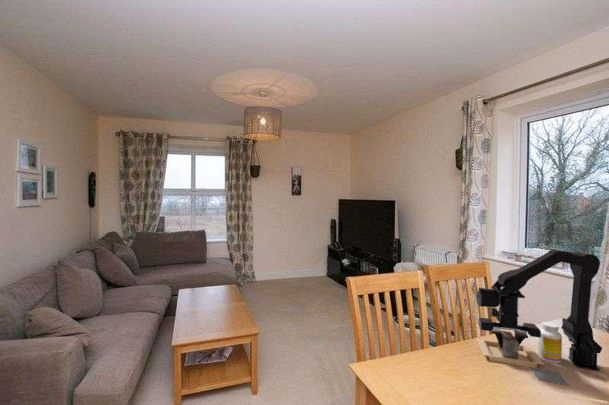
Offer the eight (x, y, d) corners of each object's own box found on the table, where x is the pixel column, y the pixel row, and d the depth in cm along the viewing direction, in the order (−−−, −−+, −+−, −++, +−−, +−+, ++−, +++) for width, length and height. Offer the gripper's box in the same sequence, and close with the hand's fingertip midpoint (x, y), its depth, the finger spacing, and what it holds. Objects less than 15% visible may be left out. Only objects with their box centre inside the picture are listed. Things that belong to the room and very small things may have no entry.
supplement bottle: (566, 364, 110) (567, 328, 110) (547, 364, 110) (548, 328, 110) (551, 354, 117) (552, 320, 116) (533, 354, 117) (534, 320, 117)
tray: (530, 352, 119) (530, 346, 119) (543, 370, 106) (544, 363, 106) (476, 344, 125) (476, 338, 125) (483, 361, 112) (483, 354, 112)
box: (510, 350, 119) (510, 331, 119) (518, 362, 110) (518, 342, 110) (497, 348, 120) (498, 330, 120) (504, 360, 112) (504, 340, 112)
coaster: (558, 373, 104) (558, 371, 104) (569, 387, 97) (569, 385, 97) (530, 369, 107) (530, 367, 107) (538, 382, 100) (539, 380, 100)
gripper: (530, 303, 119) (529, 344, 120) (475, 298, 126) (475, 336, 126) (541, 314, 109) (540, 358, 109) (481, 307, 115) (480, 349, 115)
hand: (507, 349), depth 115 cm, fingers closed on box, 4 cm apart
